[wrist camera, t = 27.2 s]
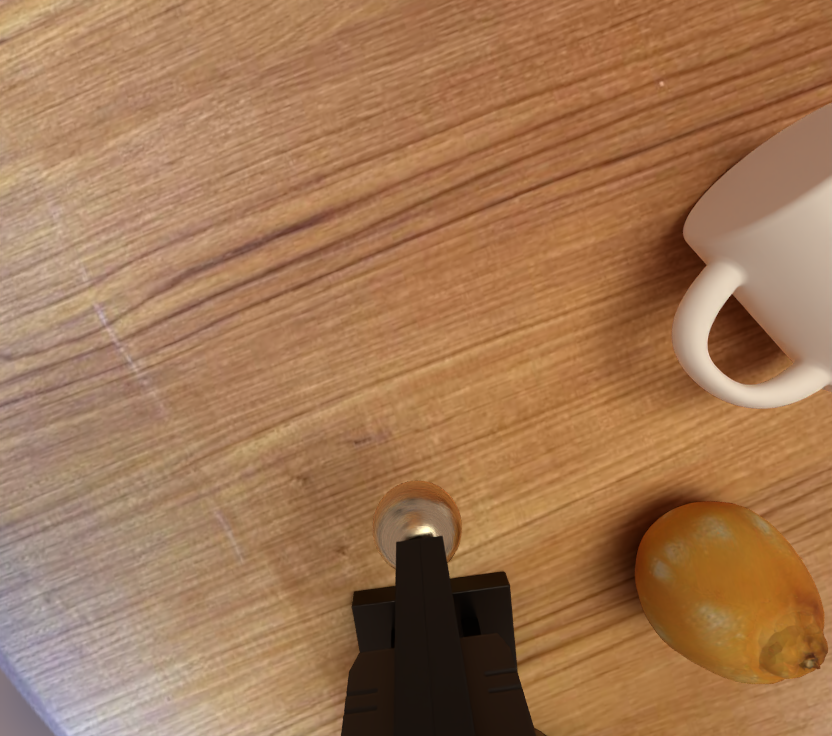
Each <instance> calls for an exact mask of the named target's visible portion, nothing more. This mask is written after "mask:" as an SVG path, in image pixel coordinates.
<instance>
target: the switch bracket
mask: <svg viewBox="0 0 832 736" xmlns="http://www.w3.org/2000/svg"><path fill="white" fill-rule="evenodd" d="M450 583H451V589H452V595H453V601H454V607H455V613H456V619H457V625H458V631H459V638H462V637H470V636H477V635H485V634H492V633H498V634H499V635H500V637H501V638H502V639H503V640H504V641H505V643H506V644H507V645H508V646H509V647H510V649H511V652H512V655H513V659H514V662H515V665H516V669H517V660H516V649H515V638H514V626H513V615H512V604H511V592H510V584H509V581H508V579H507V576H506V573H505V572H500V573H492V574H485V575H477V576H470V577H462V578H455V579H450ZM352 611H353V617H354V622H355V628H356V634H357V639H358V645H359V651H360V653H361V652H368V651H376V650H383V649H391V648H395V587H387V588H380V589H372V590H365V591H358V592H354V594H353V601H352Z"/></svg>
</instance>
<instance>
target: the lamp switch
mask: <svg viewBox="0 0 832 736" xmlns="http://www.w3.org/2000/svg"><path fill="white" fill-rule="evenodd" d="M372 530H373V538H374V542H375V545H376V548H377V550H378V552H379V553H380V555H381V556H382V558H383V559H384V560H385V561H386V562H387V563H388V564H389V565H390V566H391V567H393V568H394V569H396V542H398V541H405V540H413V539H420V538H428V537H436V536H443V540H444V546H445V553H446V559H447V563H448V562H449V561H450V560H451V558H452V557H453V556H454V554H455V552H456V550H457V548H458V546H459V543H460V540H461V534H462V522H461V516H460V513H459V510H458V508H457V506H456V504H455V502H454V500H453V499H452V497H451V496H450V495H449V494H448V493H447V492H446V491H445V490H443V489H442V488H441V487H439V486H437V485H435V484H433V483H430V482H426V481H418V480H416V481H408V482H404V483H401V484H399V485H397V486H395V487H394V488H392V489H391V490H390V491H388V492H387V493H386V494H385V496H384V497H383V498H382V499H381V501H380V502H379V504H378V506H377V508H376V511H375V514H374V518H373V528H372Z"/></svg>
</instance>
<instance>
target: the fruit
mask: <svg viewBox="0 0 832 736" xmlns="http://www.w3.org/2000/svg"><path fill="white" fill-rule="evenodd" d="M635 581H636V587H637V592H638V596H639V600H640V603H641V606H642V608H643V611H644V613H645V615H646V617H647V619H648V621H649V622H650V624H651V625H652V627H653V628H654V630H655V631H656V633H657V634H658V635H659V636H660V638H661V639H662V640H663V641H664V642H665V643H667V644H668V645H669V646H670V647H671V648H672V649H674V650H675V651H677V652H678V653H680V654H681V655H683V656H684V657H686V658H687V659H689V660H690V661H692V662H694V663H695V664H697V665H699V666H701V667H703V668H705V669H707V670H709V671H711V672H713V673H715V674H717V675H719V676H722V677H724V678H727V679H730V680H733V681H737V682H741V683H747V684H774V683H777V682H780V681H782V680H784V679H790V678H798V677H802V676H804V675H806V674H807V673H810V672H812V671H814V670H815V669H820V665H821V664H822V663H823V662H824V659H825V656H826V654H827V653H828V645H827V641H826V639H825V637H824V634H823V629H824V610H823V606H822V602H821V598H820V595H819V593H818V590H817V588H816V585H815V583H814V581H813V579H812V577H811V575H810V573H809V572H808V570H807V568H806V566H805V565H804V563H803V562H802V560H801V559H800V557H799V556H798V554H797V553H796V551H795V550H794V549H793V547H792V546H791V545H790V543H789V542H788V541H787V540H786V539H785V538H784V537H783V536H782V534H781V533H780V532H779V531H778V530H777V529H776V528H775V527H774V526H772V525H771V524H770V523H769V522H768V521H766V520H765V519H764V518H762V517H761V516H759V515H758V514H756V513H755V512H753V511H751V510H749V509H747V508H745V507H742V506H739V505H736V504H732V503H726V502H715V501H702V502H693V503H689V504H686V505H682V506H680V507H677V508H675V509H673V510H671V511H669V512H667V513H666V514H664V515H663V516H661V517H660V518H659V519H658V520H657V521H656V522H655V523H654V524H652V525H651V527H650V528H649V529H648V530H647V532H646V533H645V535H644V536H643V538H642V540H641V542H640V545H639V548H638V552H637V556H636V563H635Z"/></svg>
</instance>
